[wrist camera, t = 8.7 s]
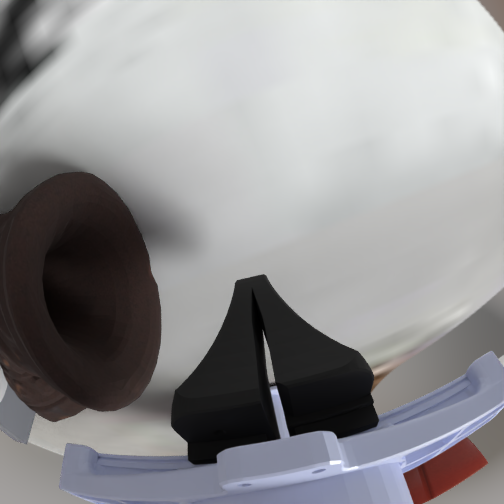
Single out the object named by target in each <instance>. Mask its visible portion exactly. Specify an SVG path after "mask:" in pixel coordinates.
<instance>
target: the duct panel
mask: <svg viewBox="0 0 504 504" xmlns="http://www.w3.org/2000/svg"><path fill="white" fill-rule="evenodd" d="M35 414H36V412H35V411H33V410H31V409H30V408H29V407H28V406H27V405H26V404H25V403H24V402H22V401H21V400H20V399H19V398H18V396H17V395H16V394H15V392H14V391H13V390H12V389H11V388H10V386H9V384H8V383H7V381H6V379H5V376H4V374H3V369H2V368H1V366H0V430H2V431H3V432H4V433H5V434H7V435H8V436H9V437H11V438H12V439H13V440H15V441H17V442H20V443H24V444H27V442H28V439H29V435H30V431H31V427H32V424H33V420H34V417H35Z"/></svg>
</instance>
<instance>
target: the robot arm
mask: <svg viewBox="0 0 504 504" xmlns="http://www.w3.org/2000/svg"><path fill="white" fill-rule="evenodd" d="M263 332H264V335H265V338H266V341H267V344H268V347H269V350H270V355H271V360H272V366H273V371H274V377H275V382H276V386H272V387H270V386H269V381H268V376H267V369H266V359H265V348H264V338H263ZM373 381H374V374H373V372H372V370H371V368H370V367H369V365H368V363H367V362H366V361H365V359H364V358H363V357H362V355H361V354H360V353H359V352H358V351H356V350H354V349H352V348H349V347H347V346H345V345H342V344H340V343H338V342H337V341H335V340H333V339H331V338H329V337H328V336H326V335H324V334H323V333H321V332H320V331H318V330H317V329H315V328H314V327H312V326H311V325H310V324H308V323H307V322H306V321H305V320H303V319H302V318H301V317H300V316H299V315H297V314H296V313H295V312H294V311H293V310H292V309H291V308H290V307H289V306H288V305H287V304H286V303H285V302H284V300H283V299H282V298H281V297H280V296H279V295H278V293H277V292H276V291H275V289H274V288H273V287H272V285H271V284H270V282H269V280H268V278H267V276H266V275H264V274H263V275H258V276H254V277H250V278H245V279H241V280H237V281H236V283H235V288H234V293H233V297H232V300H231V304H230V307H229V310H228V313H227V315H226V318H225V320H224V322H223V325H222V327H221V329H220V331H219V333H218V335H217V337H216V339H215V341H214V343H213V345H212V346H211V348H210V349H209V351H208V353H207V354H206V356H205V357H204V359H203V360H202V361H201V363H200V364H199V365H198V366H197V368H196V369H195V370H194V371H193V373H192V374H191V375H190V376H189V377H188V378H187V379H186V380H185V381H184V382H183V384H182V385H181V386H180V387H179V388H178V389H176V390H175V394H174V399H173V404H172V413H171V426H172V428H173V429H174V430H175V431H176V432H177V433H178V434H179V435H180V436H181V437H182V438H183V439H184V440H185V441H187V442H188V456H128V455H113V454H102V453H97V452H96V451H95V450H94V449H92V448H90V447H88V446H85V445H78V444H71V443H67V444H66V448H65V453H64V458H63V464H62V470H61V477H60V483H59V488H60V489H61V490H63V491H66V492H68V493H70V494H72V495H74V496H77V497H79V498H82V499H84V500H86V501H89V502H92V503H95V504H414V503H413V500H412V498H411V495H410V492H409V489H408V486H407V484H406V481H405V478H404V475H403V473H405V472H407V471H409V470H411V469H413V468H415V467H417V466H419V465H421V464H423V463H425V462H426V461H428V460H430V459H432V458H434V457H435V456H437V455H439V454H440V453H442V452H444V451H445V450H447V449H449V448H450V447H452V446H453V445H455V444H457V443H458V442H460V441H461V440H463V439H464V438H466V437H467V436H468V435H470V434H472V433H473V432H474V431H476V430H477V429H479V428H480V427H482V426H483V425H484V424H486V423H487V422H489V421H490V420H491V419H493V418H494V417H495V416H496V415H497V414H498V413H499V412H500V411H501V409H503V407H504V367H503V365H502V364H501V362H500V361H499V360H498V358H497V357H496V355H495V354H494V353H493V351H490V352H488V353H486V354H485V355H483V356H482V357H480V358H478V359H477V360H475V361H474V362H473V363H472V364H471V365H470V366H469V368H468V369H467V372H466V374H464V375H463V376H461V377H459V378H457V379H456V380H454V381H452V382H450V383H448V384H447V385H445V386H443V387H441V388H439V389H437V390H435V391H433V392H431V393H429V394H427V395H425V396H423V397H420V398H418V399H416V400H414V401H412V402H409V403H407V404H405V405H403V406H400V407H398V408H396V409H393V410H391V411H388V412H386V413H383V414H381V415H378V416H377V414H376V411H375V408H374V406H373V403H374V401H373V398H372V396H371V389H372V385H373Z"/></svg>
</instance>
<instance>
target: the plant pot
mask: <svg viewBox="0 0 504 504" xmlns="http://www.w3.org/2000/svg"><path fill="white" fill-rule="evenodd" d="M487 464H488V462H487V461H486V459H485V458H484V456H483V455H482V454H481V452H480V451H479V450H478V449H477V448H476V446H475V445H474V444H473V443H472V442H471V441H470V440H469V439H468V438H467V437H466V438H464V439H463V440H461V441H460V442H458V443H457V444H455V445H453V446H452V447H450V448H449V449H447V450H445V451H444V452H442V453H440V454H439V455H437V456H435V457H434V458H432V459H430V460H428V461H426V462H425V463H423V464H421V465H419V466H417V467H415V468H413V469H411V470H409V471H407V472H405V473H403V475H404V478H405V481H406V484H407V486H408V489H409V492H410V495H411V498H412V500H413V503H414V504H423V503H425V502H427V501H429V500H431V499H433V498H435V497H437V496H439V495H441V494H442V493H444V492H446V491H448V490H449V489H451V488H453V487H454V486H456V485H458V484H459V483H461V482H462V481H464V480H465V479H467V478H468V477H470V476H471V475H473V474H474V473H476V472H477V471H478V470H480V469H481V468H483V467H484V466H485V465H487Z"/></svg>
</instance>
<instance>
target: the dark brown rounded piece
mask: <svg viewBox="0 0 504 504" xmlns="http://www.w3.org/2000/svg"><path fill="white" fill-rule="evenodd" d="M160 343H161V305H160V299H159V293H158V286H157V284H156V282H155V279H154V277H153V275H152V273H151V268H150V260H149V254H148V252H147V249H146V246H145V243H144V241H143V238H142V235H141V233H140V231H139V229H138V227H137V225H136V223H135V221H134V219H133V217H132V215H131V213H130V211H129V209H128V208H127V206H126V205H125V204H124V202H123V201H122V200H121V198H120V197H119V196H118V194H117V193H116V192H115V191H114V190H113V189H112V188H111V187H110V186H109V185H107V184H106V183H105V182H104V181H103V180H101V179H99V178H98V177H96V176H95V175H93V174H90V173H85V172H71V173H63V174H58V175H56V176H54V177H52V178H50V179H48V180H46V181H44V182H42V183H41V184H40V185H38V186H36V187H35V188H34V189H32V190H31V191H30V192H29V193H27V194H26V195H25V196H24V197H23V198H22V199H21V200H20V202H19V203H18V204H17V205H16V206H15V208H14V209H13V210H12V211H10V212H8V213H5V214H0V366H1V368H2V369H3V374H4V376H5V379H6V381H7V383H8V384H9V386H10V388H11V389H12V390H13V391H14V392H15V394H16V395H17V396H18V398H19V399H20V400H21V401H22V402H24V403H25V404H26V405H27V406H28V407H29V408H30V409H31V410H33V411H35V412H36V413H37V414H38V415H40V416H41V417H43V418H45V419H47V420H49V421H52V422H56V421H59V420H62V419H65V418H68V417H71V416H74V415H76V414H78V413H79V412H81V411H82V410H84V409H86V408H90V409H93V410H97V411H102V412H103V411H116V410H118V409H121V408H123V407H125V406H128V405H129V404H130V403H132V402H133V401H135V400H136V399H137V398H139V397H140V395H141V394H142V392H143V391H144V389H145V388H146V387H147V385H148V384H149V382H150V380H151V377H152V375H153V372H154V369H155V367H156V364H157V359H158V354H159V349H160Z"/></svg>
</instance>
